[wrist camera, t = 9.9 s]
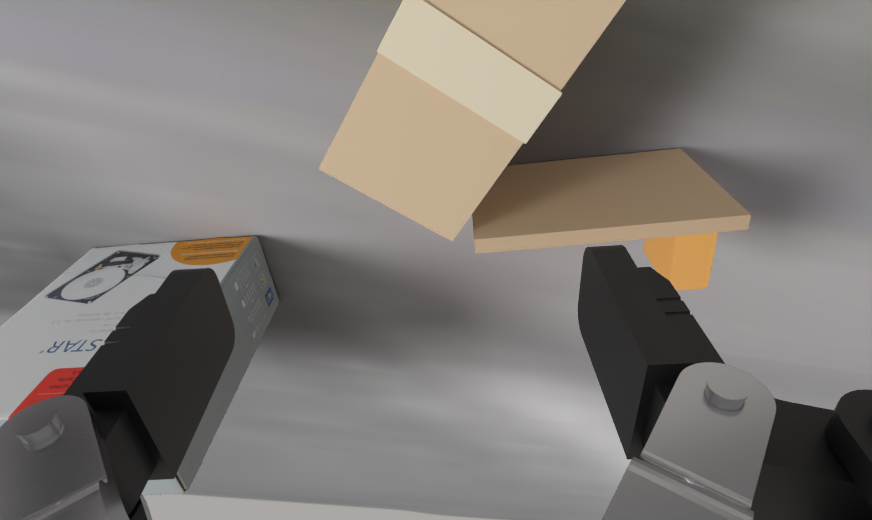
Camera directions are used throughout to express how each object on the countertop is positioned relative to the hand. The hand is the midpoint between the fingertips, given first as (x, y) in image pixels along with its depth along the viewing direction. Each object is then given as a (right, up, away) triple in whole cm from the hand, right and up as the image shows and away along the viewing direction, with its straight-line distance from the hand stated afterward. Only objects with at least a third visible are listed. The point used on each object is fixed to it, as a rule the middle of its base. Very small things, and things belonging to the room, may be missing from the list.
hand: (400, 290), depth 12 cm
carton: (+3, +16, +25) cm, 30 cm away
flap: (+12, +6, +30) cm, 33 cm away
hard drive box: (-22, -1, +36) cm, 42 cm away
